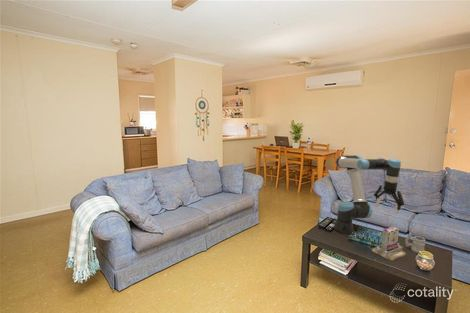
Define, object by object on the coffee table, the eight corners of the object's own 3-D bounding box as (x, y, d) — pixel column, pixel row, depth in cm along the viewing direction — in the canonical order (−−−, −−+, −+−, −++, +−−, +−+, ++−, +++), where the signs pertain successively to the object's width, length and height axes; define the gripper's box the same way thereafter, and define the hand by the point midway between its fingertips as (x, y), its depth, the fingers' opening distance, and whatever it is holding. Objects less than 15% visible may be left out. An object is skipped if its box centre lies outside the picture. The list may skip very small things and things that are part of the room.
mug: (423, 255, 170) (426, 239, 168) (403, 248, 178) (405, 233, 176) (424, 251, 175) (427, 235, 173) (405, 245, 183) (407, 230, 181)
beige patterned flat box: (371, 250, 174) (372, 244, 174) (385, 245, 182) (386, 239, 181) (391, 261, 162) (392, 255, 161) (405, 254, 170) (406, 249, 169)
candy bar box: (389, 247, 177) (392, 226, 174) (396, 250, 172) (399, 229, 170) (379, 250, 172) (382, 228, 169) (386, 254, 167) (389, 232, 165)
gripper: (370, 177, 179) (366, 204, 183) (407, 187, 157) (402, 218, 161) (377, 176, 182) (373, 202, 186) (413, 186, 160) (408, 216, 165)
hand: (386, 210), depth 174 cm, fingers open, 13 cm apart
